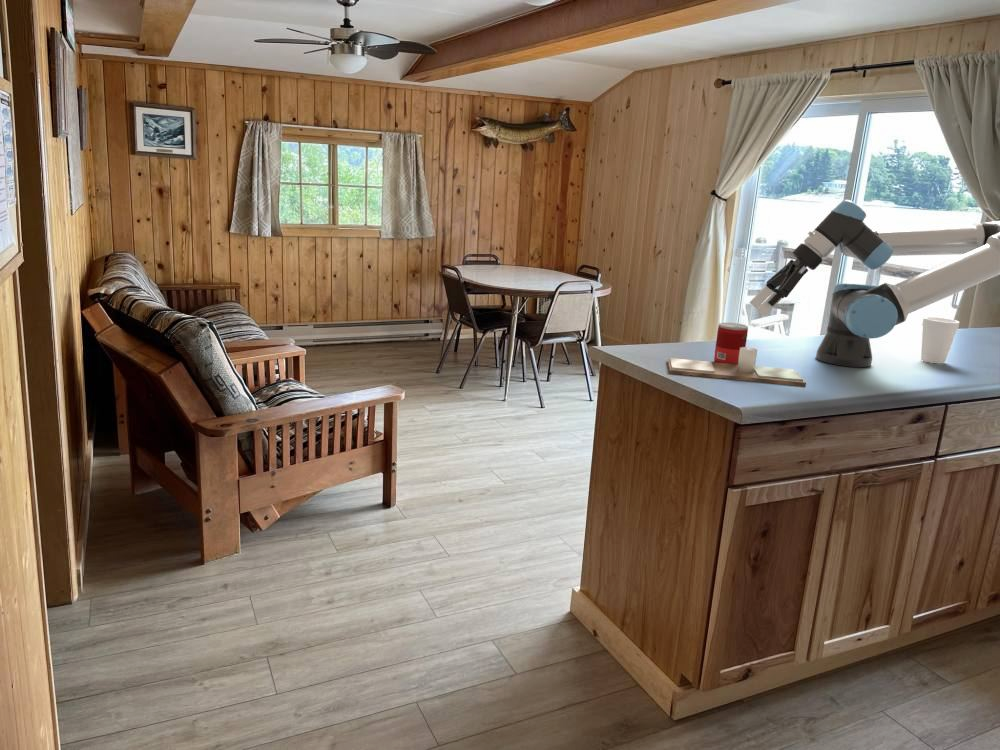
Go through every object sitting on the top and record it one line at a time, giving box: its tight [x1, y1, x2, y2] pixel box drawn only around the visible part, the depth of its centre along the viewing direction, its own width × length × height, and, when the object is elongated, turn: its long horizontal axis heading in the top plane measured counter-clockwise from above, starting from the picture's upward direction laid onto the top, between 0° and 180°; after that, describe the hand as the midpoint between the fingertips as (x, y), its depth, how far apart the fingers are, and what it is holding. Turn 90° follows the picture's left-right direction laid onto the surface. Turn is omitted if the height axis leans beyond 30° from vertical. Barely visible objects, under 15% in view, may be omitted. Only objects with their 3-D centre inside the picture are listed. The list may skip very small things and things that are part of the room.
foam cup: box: [920, 316, 960, 364], centre depth 226 cm, size 10×9×13 cm
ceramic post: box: [737, 346, 758, 373], centre depth 197 cm, size 4×4×6 cm
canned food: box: [713, 322, 749, 364], centre depth 209 cm, size 8×8×11 cm
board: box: [667, 357, 807, 387], centre depth 199 cm, size 34×14×1 cm, turn 80°
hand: (756, 309), depth 209 cm, fingers open, 13 cm apart
